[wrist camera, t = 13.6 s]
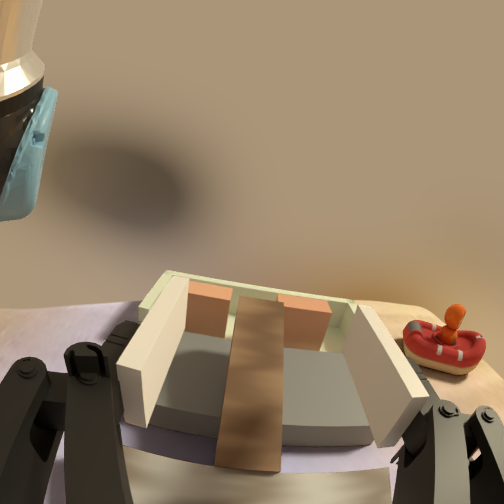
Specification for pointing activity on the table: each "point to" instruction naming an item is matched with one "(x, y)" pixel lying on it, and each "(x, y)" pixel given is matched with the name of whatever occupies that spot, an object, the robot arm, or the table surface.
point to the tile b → (304, 321)
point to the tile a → (207, 309)
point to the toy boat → (444, 344)
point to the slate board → (294, 394)
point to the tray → (339, 307)
